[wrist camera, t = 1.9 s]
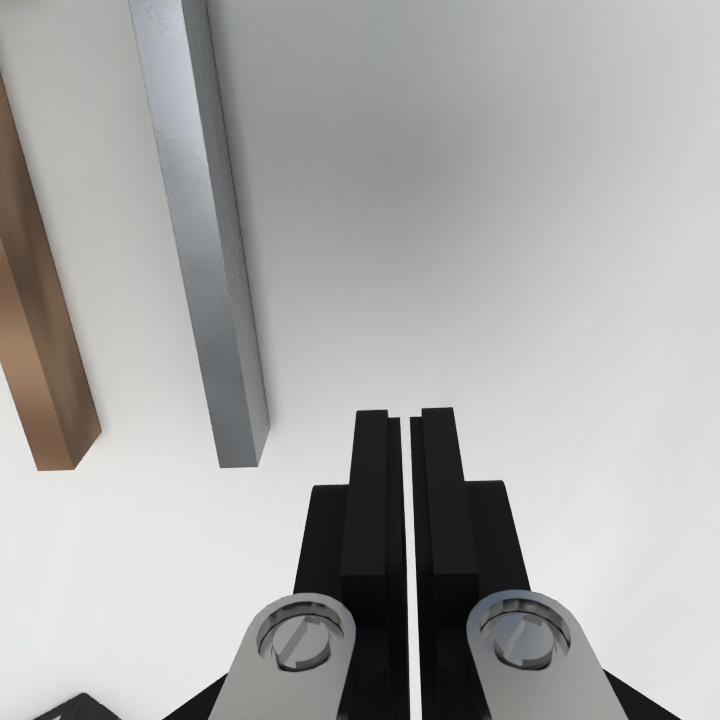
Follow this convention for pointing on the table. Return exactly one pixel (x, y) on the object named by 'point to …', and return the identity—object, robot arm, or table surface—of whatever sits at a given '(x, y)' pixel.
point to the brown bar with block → (37, 323)
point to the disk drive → (79, 710)
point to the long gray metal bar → (204, 218)
